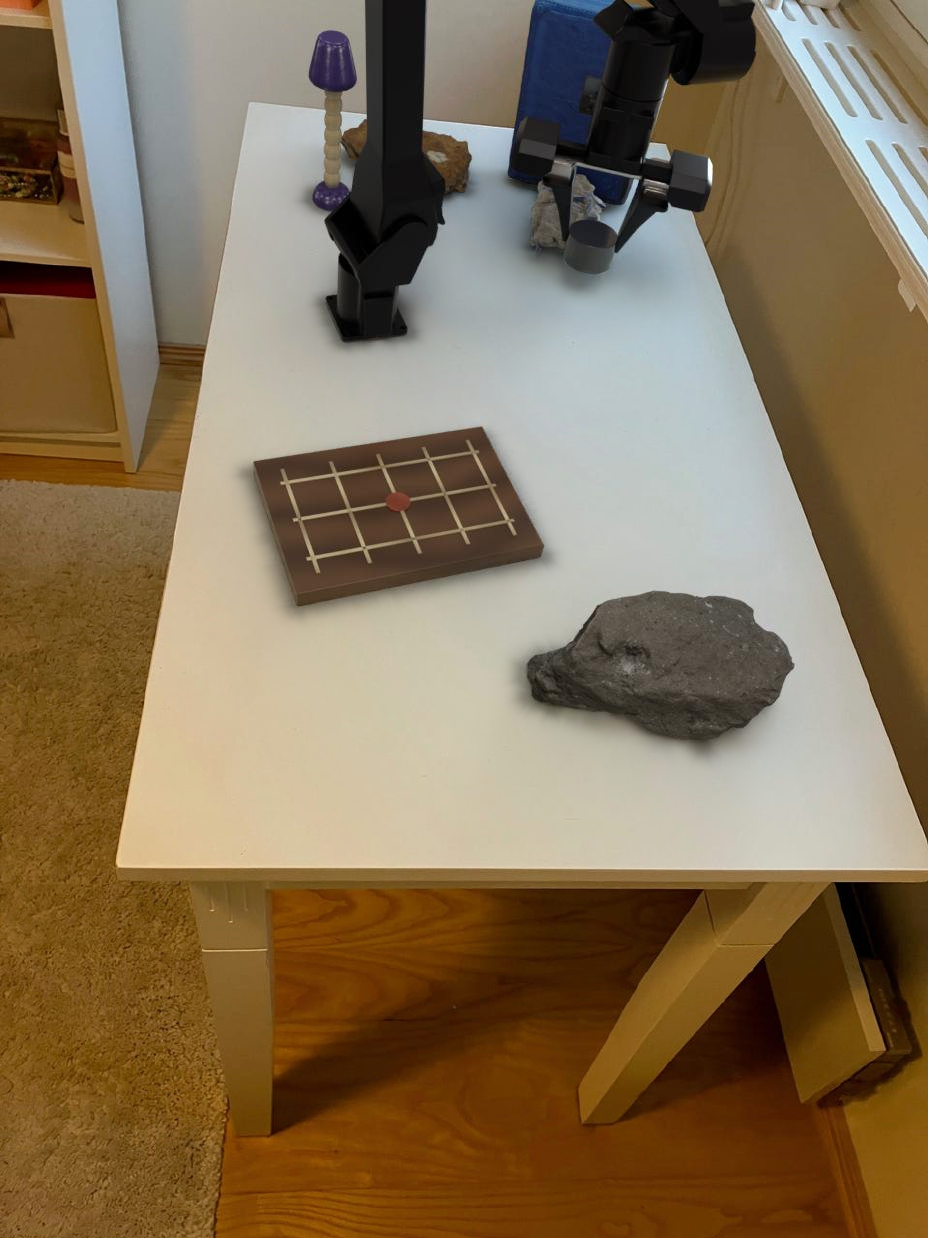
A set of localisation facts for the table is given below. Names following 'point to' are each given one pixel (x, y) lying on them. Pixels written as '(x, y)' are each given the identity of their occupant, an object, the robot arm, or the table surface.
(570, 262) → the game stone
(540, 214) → the mineral specimen
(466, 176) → the decorative rock
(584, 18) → the book
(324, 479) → the game board
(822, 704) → the table surface
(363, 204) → the robot arm
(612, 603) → the stone
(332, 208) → the toy lamp
